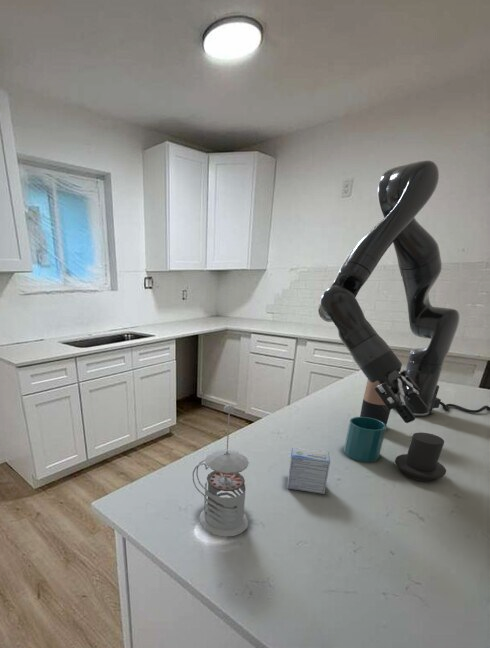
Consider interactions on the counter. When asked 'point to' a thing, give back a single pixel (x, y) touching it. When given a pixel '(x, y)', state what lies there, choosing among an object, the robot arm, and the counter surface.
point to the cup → (364, 439)
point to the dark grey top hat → (422, 457)
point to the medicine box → (308, 470)
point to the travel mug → (374, 403)
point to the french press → (224, 512)
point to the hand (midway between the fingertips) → (417, 415)
